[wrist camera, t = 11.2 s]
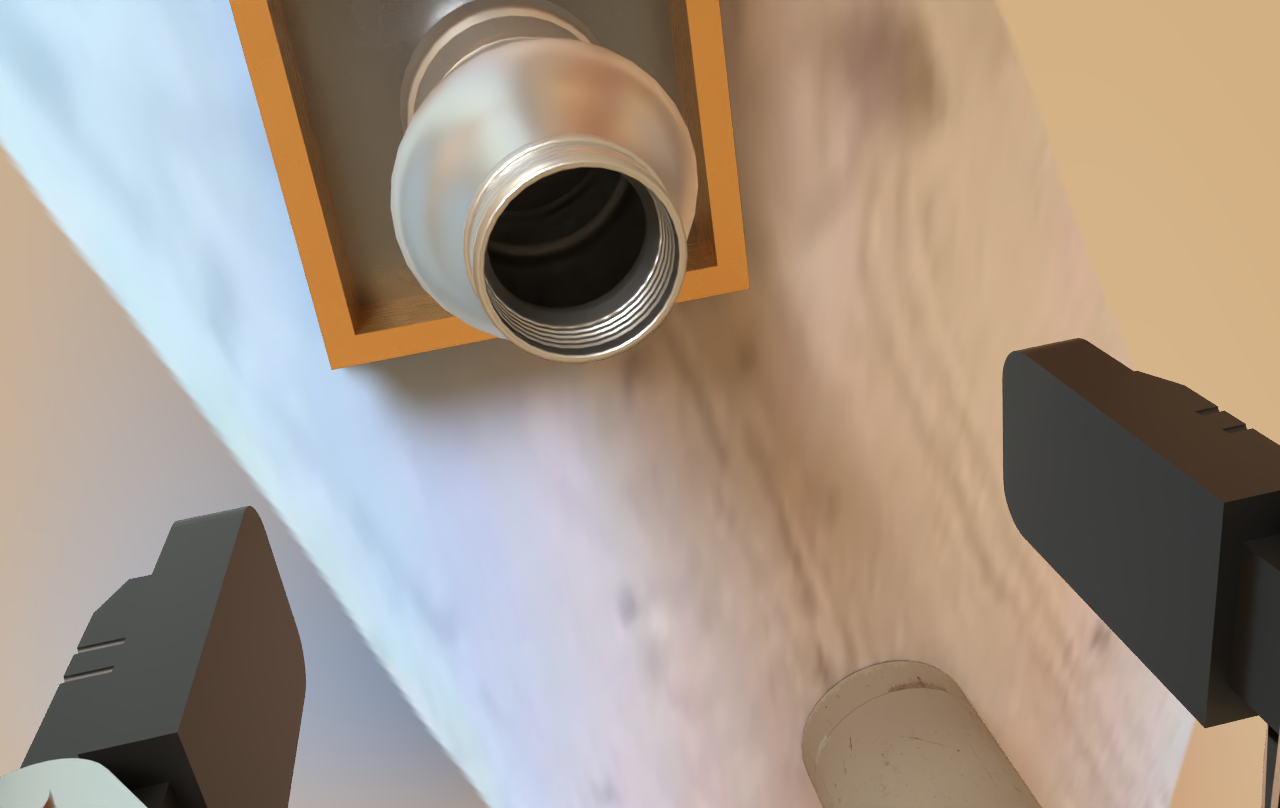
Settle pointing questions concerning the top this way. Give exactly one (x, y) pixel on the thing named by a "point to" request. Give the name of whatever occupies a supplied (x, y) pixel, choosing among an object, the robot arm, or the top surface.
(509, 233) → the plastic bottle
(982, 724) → the thermos bottle
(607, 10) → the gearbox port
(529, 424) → the top surface
